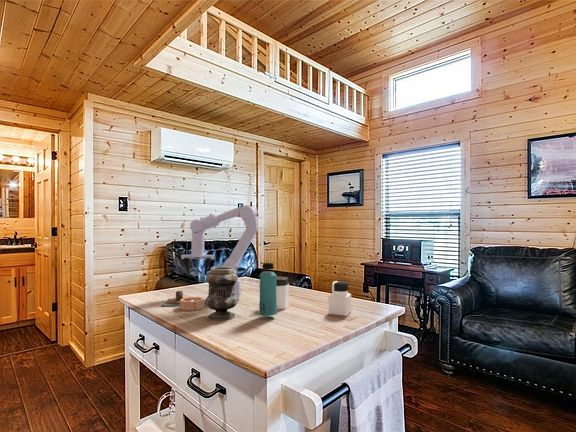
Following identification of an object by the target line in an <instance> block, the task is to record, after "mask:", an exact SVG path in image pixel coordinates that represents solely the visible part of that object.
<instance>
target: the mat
mask: <svg viewBox="0 0 576 432" xmlns="http://www.w3.org/2000/svg"><path fill="white" fill-rule="evenodd" d="M169 299H170V298H168V299H167V300H169ZM167 300H165V301H164V302H163V303H162V304H161V306H160V307H162V308H163V307H164V308H167V307H169V308H170V307H173V308H174V307H175V308H176V307H180V304H168V303H167Z"/></svg>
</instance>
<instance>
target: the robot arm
mask: <svg viewBox="0 0 576 432" xmlns="http://www.w3.org/2000/svg"><path fill="white" fill-rule="evenodd" d="M234 218H240V219H242V221H243V222H244V225H245V229H244V232H243V234H242V235H241V237H240V238H239V240H238V241H237V244H236V246H235V247H234V249H233V250H232V251H231V253H230V254H229V255H230V256H229V257H228V258H227V259H226V260H225V261H224V263H223V264H222V265H221V266H220V267H232V268H234V273H235V274H236V275H237V273H238V268H239V266H240V262H241V260H242V258H243V257H244V255H245V253H246V251H247V249H248V248H249V246H250V244H251V243H252V241H253V239H254V237H255V236H256V235H257V233H258V231H259V218H260V214H259V212H258V209H257V208H256V207H254V206H250V205H242V206H239V207H235V208H233V209H230V210H228V211H225V212H223V213H220V214H218V215H217V214H216V213H209V214H208V215H207V216H205V217H203V216H202V217H200V218H199V219H194V220H192V221H191V222H190V225H189V229H190V230H191V252H190V253H191V254H181V260H183V264H184V266H185V269H186V271H187V276H190V274H191V260H204V276H207V275H208V274H207V273H208V270H209V267H210V264H211V262H212V260H214V259H215V258H214V257H215V256H214V254H205V233H206V230H210V229H212V228H216V227H218V226H220V223H221V222H225V221H227V220H230V219H234ZM235 296H236V297H237V298H238V301H239V300H240V298H241V278H238V281H237V282H236V283H235Z"/></svg>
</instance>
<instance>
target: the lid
mask: <svg viewBox="0 0 576 432" xmlns="http://www.w3.org/2000/svg"><path fill="white" fill-rule="evenodd" d="M183 295H184V293H183V290H177V291H175V297H173V298H168V299H169V300H168V299H166V301H167V303H168V304H180V300H181V299H182V298H185V297H183Z"/></svg>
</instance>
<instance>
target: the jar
mask: <svg viewBox="0 0 576 432" xmlns="http://www.w3.org/2000/svg"><path fill="white" fill-rule="evenodd" d="M276 295H277V310H286V309H288V308H289V307H290V283H289V277H288V276H280V275H279V276H278V275H277V276H276Z"/></svg>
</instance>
